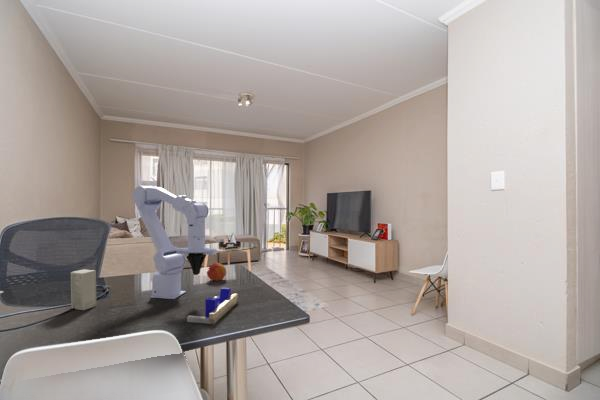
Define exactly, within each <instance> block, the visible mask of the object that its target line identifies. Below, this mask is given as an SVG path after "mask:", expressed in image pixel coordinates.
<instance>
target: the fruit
mask: <svg viewBox="0 0 600 400" xmlns="http://www.w3.org/2000/svg"><path fill="white" fill-rule="evenodd" d="M206 275H207V278H209V279H210V280H212V281H217V282H218V281H222V280H224V278H225V276H226V275H227V269H226V267H225V266H224V264H222V263H220V262H214V263H212V264H211V265H210V266H209V267H208V270H207V272H206Z"/></svg>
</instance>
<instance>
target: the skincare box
mask: <svg viewBox="0 0 600 400" xmlns="http://www.w3.org/2000/svg"><path fill="white" fill-rule="evenodd" d="M70 300H71V301H70V302H71V303H70V306H71V309H73V308H75V309H74V310H80V311H86V310H88V309H91V308H95V307H97V270H95V269H85V268H83V269H79V270H74V271H71V272H70Z"/></svg>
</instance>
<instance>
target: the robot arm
mask: <svg viewBox="0 0 600 400" xmlns="http://www.w3.org/2000/svg"><path fill="white" fill-rule="evenodd" d="M187 196H188V195H185V194H182V195H178V196H177V195H176V194H174V193H171V192H170V191H168V190H167V189H166V188H163V187H162V186H145V185H144V186H143V185H137V186H136V187H135V188H134V190H133V193H132V199H133V201H134V204H135V205H136V206H135V207H136V208H137V210H138V213H139V216H140V217H141V220H142V222H143V225H144V226H145V228H146V230H147V233H148V235H149V238H150V239H151V241H152V244H153V245H154V248H155V250H156V252H155V253H154V255H153V257H152V259H153V261H154V266H155V270H156V272H155V273H154V274H153V277H152V281H151V282H152V288H151V290H152V292H151V296H150V298H153V299H166V300H175V299H177V298H178V297H179V296H182V295H183V294H186V290H182V271H183V268H184V267H185V266H186V264H187V261H188V262H189V264H190V265H189V266H190V267H191V271H192V274H193V275H194V276H198V275H200V274H201V273H200V272H201V269H202V265H203V262H204V261H205V259H206V257H207V255H209V256H210V255H211V256H215V255H217V253H218V252H217V251H218V250H217V248H209V247H206V218H207V217H208V215H209V207H208V206H207V205H206V204H205V203H204V202H200V203H199V202H197V201H196V200H195V199H190V198H188V197H187ZM163 202H165V203H168V204H170V205H171V207H172V208H173V209H174V210H175V211H178V212H179V213H182V214H183V215H184V217H185V219H186V223H187V227H188V228H187V230H188V231H187V234H188V235H187V247H178V246H175V245H173V244H172V242H171V240H170V238H169V235H168V234H167V232H166V230H165V228H164V226H163V224H162V222H161V220H160V218H159V216H158V215H157V212H156V211H158V210H159V209H160V206H161V204H162V203H163ZM186 255H187V256H186Z"/></svg>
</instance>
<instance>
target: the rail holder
mask: <svg viewBox="0 0 600 400" xmlns="http://www.w3.org/2000/svg"><path fill="white" fill-rule="evenodd" d="M238 294H239V293H232V294H231V296H230V297H229V298H227V299H226V300H225V301H224V302H223V303H221V304H220V305H219V306H218V307H217V308H215V309H214V310H213V311H212V312H211V313H209V317H205V316H201V315H200V316H198V315H187V317H186V322H188V323H196V324H197V323H198V324H205V325H208V324H209V325H215V324H216V323H218V321H219V320H220V319H221V318H222V317H223V316H225V314H226V313H227V312H229V311H230V310H231V309H232V308H233V307H234V306H235V305H236V304H237V303H238V301H239V300H238V296H239V295H238ZM217 296H218V295H217ZM217 296H216V295H215V296H213V298H216V297H217Z"/></svg>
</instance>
